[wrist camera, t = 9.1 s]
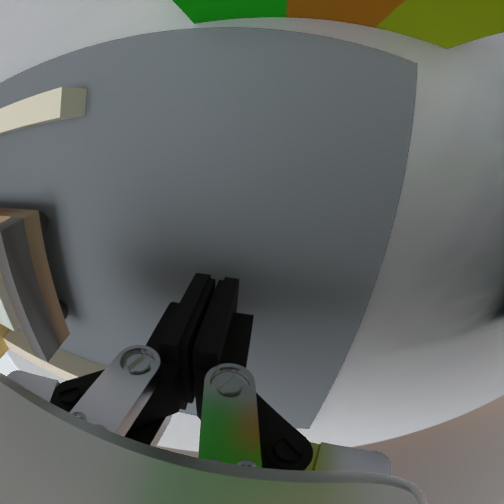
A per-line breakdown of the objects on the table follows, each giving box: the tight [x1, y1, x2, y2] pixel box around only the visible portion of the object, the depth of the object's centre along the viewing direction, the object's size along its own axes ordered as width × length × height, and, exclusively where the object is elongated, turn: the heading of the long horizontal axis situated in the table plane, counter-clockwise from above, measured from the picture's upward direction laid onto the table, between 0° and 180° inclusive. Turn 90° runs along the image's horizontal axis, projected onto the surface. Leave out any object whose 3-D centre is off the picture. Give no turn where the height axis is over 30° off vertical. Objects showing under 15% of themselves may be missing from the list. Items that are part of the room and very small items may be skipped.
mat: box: [0, 27, 417, 429], centre depth 11 cm, size 26×21×3 cm
